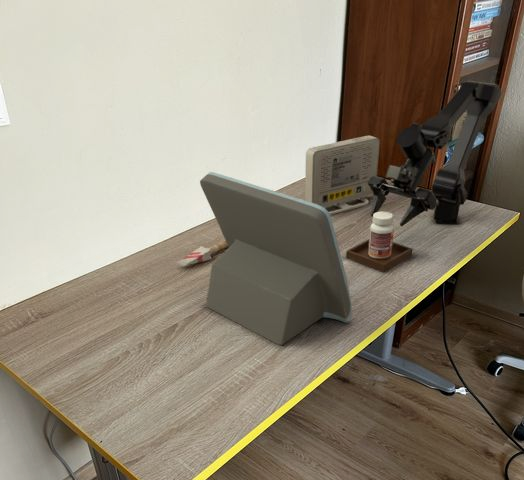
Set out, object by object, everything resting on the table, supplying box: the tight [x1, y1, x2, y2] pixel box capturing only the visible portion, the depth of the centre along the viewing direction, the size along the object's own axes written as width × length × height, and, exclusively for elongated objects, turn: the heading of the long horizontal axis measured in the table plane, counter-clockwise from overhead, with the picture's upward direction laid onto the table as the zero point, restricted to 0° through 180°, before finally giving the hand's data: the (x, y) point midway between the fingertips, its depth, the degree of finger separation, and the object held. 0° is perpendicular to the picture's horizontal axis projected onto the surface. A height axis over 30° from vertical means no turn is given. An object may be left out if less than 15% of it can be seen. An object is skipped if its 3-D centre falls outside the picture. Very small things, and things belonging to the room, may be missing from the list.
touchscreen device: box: [199, 171, 353, 346], centre depth 122 cm, size 35×20×30 cm, turn 45°
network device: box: [304, 135, 380, 216], centre depth 176 cm, size 26×9×20 cm, turn 120°
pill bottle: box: [368, 211, 395, 259], centre depth 148 cm, size 6×6×11 cm
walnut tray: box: [345, 238, 414, 273], centre depth 151 cm, size 13×12×2 cm
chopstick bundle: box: [176, 240, 229, 267], centre depth 154 cm, size 4×3×20 cm
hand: (386, 220), depth 146 cm, fingers open, 9 cm apart
